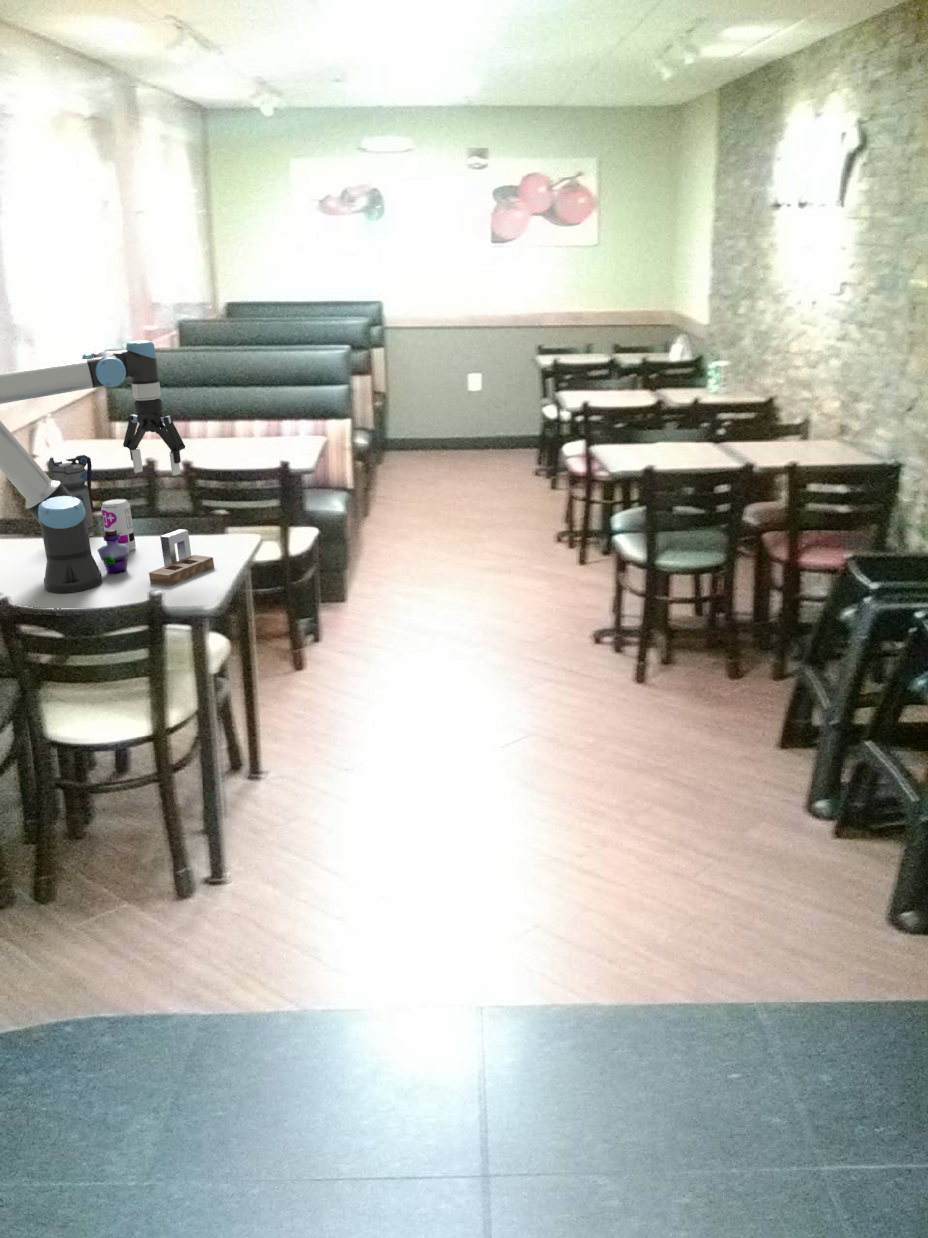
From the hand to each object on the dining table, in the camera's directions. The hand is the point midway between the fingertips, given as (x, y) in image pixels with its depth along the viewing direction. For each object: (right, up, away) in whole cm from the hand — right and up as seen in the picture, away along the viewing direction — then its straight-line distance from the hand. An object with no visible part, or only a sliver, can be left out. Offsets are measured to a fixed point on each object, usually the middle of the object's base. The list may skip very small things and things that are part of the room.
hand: (157, 473), depth 326 cm
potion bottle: (-11, -28, -2) cm, 30 cm away
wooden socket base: (+9, -29, -9) cm, 32 cm away
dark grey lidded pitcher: (-36, -14, +42) cm, 57 cm away
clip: (+6, -26, +1) cm, 27 cm away
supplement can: (-16, -21, +19) cm, 32 cm away
